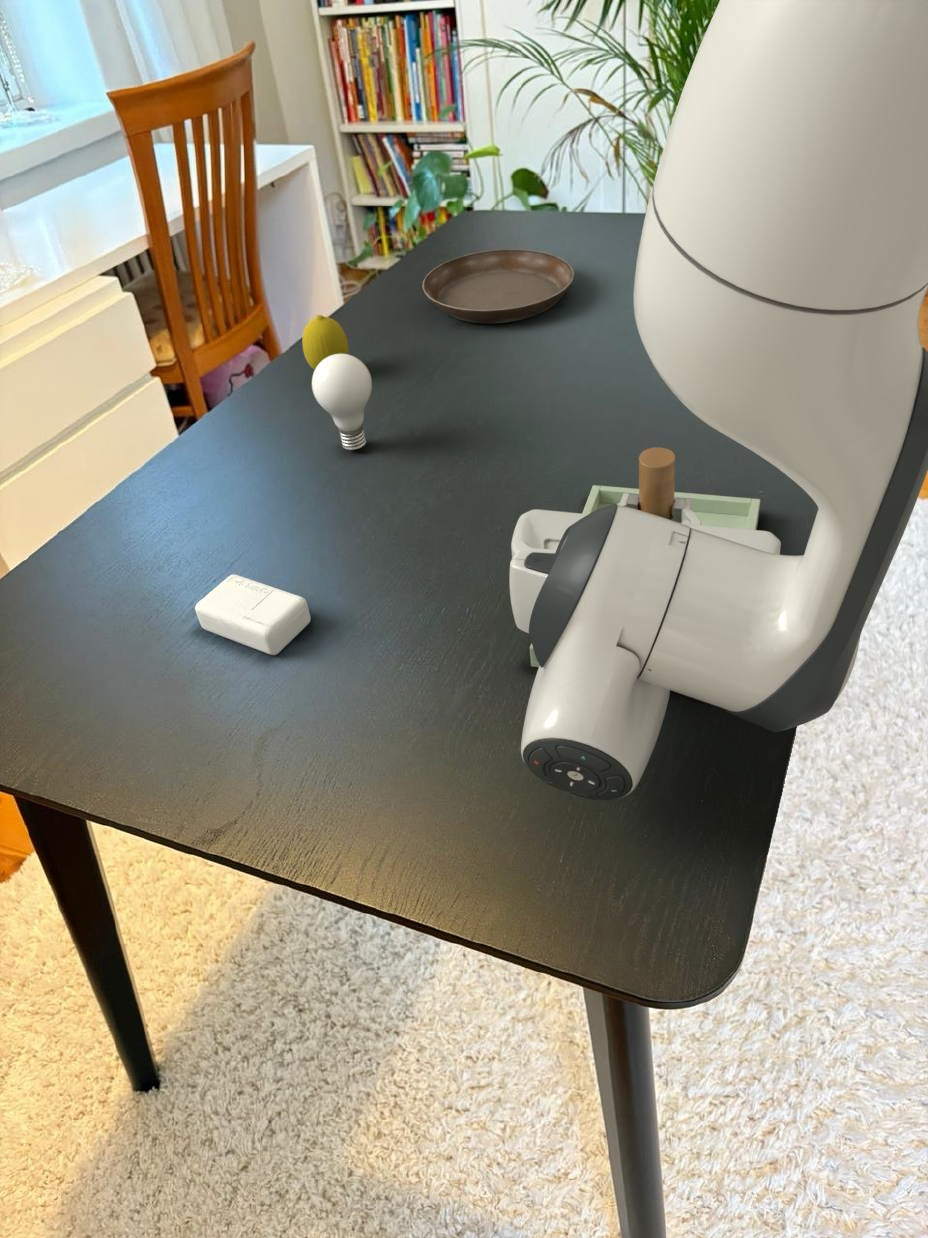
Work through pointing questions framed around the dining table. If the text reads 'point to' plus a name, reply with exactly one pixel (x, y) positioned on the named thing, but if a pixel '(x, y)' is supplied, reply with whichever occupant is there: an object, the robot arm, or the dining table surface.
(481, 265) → the plant saucer
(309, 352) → the lemon
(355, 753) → the dining table surface
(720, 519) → the tray
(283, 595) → the soap
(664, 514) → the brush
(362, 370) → the lightbulb
